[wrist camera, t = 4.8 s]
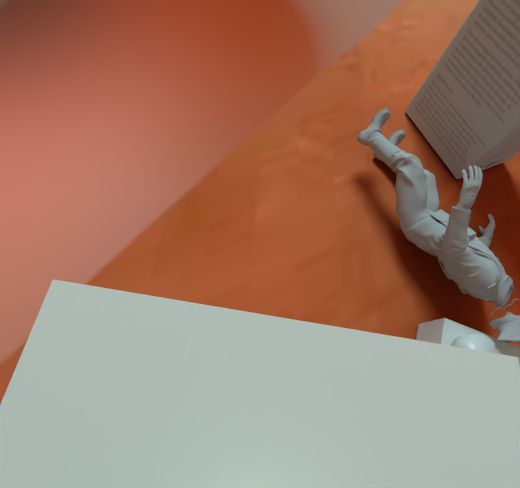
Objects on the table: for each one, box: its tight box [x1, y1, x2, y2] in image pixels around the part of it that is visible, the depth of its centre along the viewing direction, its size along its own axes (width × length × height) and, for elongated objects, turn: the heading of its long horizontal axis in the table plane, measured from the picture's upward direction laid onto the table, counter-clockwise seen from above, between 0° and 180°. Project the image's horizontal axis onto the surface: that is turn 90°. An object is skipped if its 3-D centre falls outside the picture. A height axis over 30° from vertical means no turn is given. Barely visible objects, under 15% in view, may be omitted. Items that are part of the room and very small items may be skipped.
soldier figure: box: [357, 108, 520, 343], centre depth 16 cm, size 8×5×12 cm
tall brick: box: [0, 280, 520, 488], centre depth 7 cm, size 5×5×13 cm
